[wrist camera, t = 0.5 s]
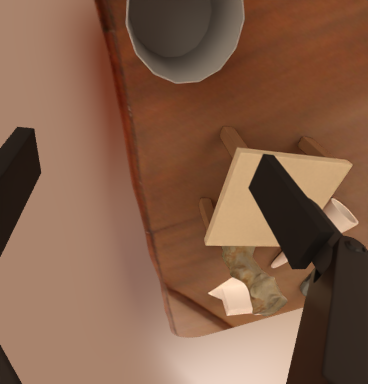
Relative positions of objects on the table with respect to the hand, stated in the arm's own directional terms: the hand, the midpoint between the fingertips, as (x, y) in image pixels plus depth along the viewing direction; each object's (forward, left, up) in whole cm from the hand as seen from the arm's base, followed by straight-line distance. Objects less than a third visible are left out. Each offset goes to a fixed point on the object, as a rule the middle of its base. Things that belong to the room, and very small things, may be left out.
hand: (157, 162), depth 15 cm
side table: (+11, +18, -18) cm, 28 cm away
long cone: (+24, +33, -18) cm, 45 cm away
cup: (-7, +2, -18) cm, 20 cm away
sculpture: (+25, +20, -18) cm, 37 cm away
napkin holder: (+44, +29, -18) cm, 56 cm away
